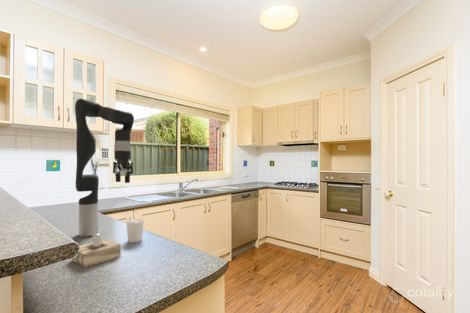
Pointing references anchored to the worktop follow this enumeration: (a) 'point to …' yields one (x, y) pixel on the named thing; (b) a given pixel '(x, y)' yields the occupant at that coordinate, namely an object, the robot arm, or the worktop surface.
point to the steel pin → (96, 240)
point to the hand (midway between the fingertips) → (122, 182)
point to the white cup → (134, 230)
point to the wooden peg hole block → (97, 253)
